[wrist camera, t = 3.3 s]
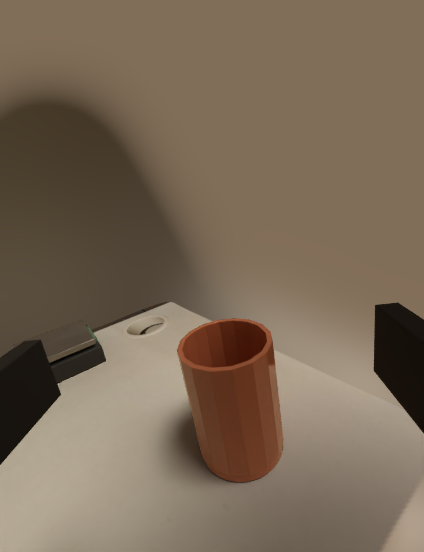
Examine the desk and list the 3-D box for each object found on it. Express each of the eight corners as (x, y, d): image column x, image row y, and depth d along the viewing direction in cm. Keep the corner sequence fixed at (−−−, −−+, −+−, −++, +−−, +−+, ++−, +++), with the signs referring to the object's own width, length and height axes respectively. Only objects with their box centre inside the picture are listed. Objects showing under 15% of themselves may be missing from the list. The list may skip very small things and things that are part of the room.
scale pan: (83, 323, 47) (81, 319, 47) (96, 343, 39) (94, 338, 39) (15, 348, 42) (13, 344, 42) (14, 377, 34) (12, 372, 34)
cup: (259, 398, 28) (247, 311, 25) (301, 459, 21) (291, 349, 18) (192, 424, 26) (171, 333, 23) (214, 499, 19) (188, 384, 16)
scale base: (90, 336, 49) (85, 321, 48) (106, 360, 40) (100, 343, 39) (19, 365, 43) (11, 348, 42) (18, 401, 34) (9, 381, 33)
